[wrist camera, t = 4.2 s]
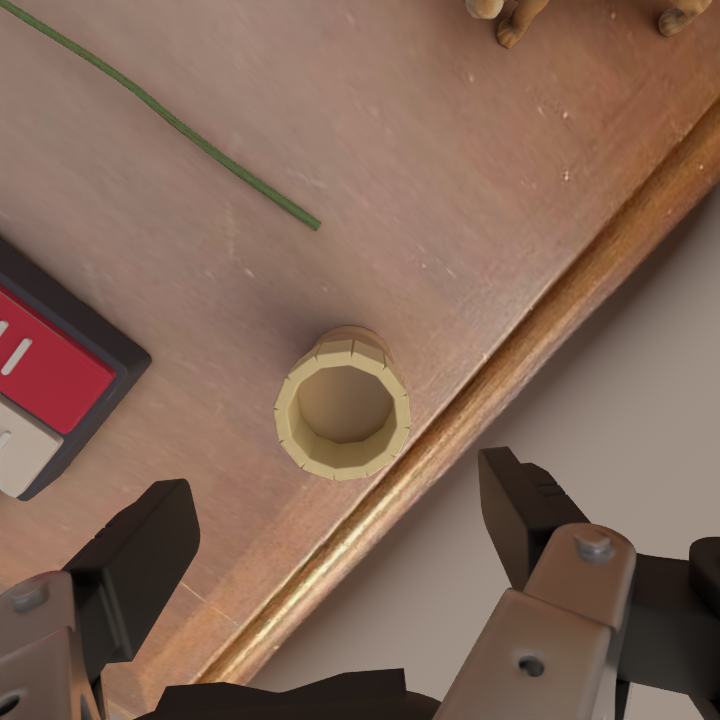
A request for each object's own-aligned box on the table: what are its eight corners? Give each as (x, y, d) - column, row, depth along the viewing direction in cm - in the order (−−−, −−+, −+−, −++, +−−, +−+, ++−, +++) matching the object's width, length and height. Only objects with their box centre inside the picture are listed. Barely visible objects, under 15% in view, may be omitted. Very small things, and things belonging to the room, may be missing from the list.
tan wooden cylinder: (314, 412, 27) (299, 455, 21) (301, 330, 26) (282, 351, 20) (397, 403, 26) (405, 444, 21) (388, 320, 25) (394, 338, 19)
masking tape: (295, 459, 21) (285, 486, 18) (277, 347, 20) (263, 360, 17) (410, 447, 21) (415, 473, 18) (398, 334, 19) (403, 344, 17)
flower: (264, 323, 20) (-733, -277, 11) (274, 289, 30) (-255, -46, 21) (400, 110, 18) (-680, -817, 9) (362, 148, 28) (-180, -285, 19)
